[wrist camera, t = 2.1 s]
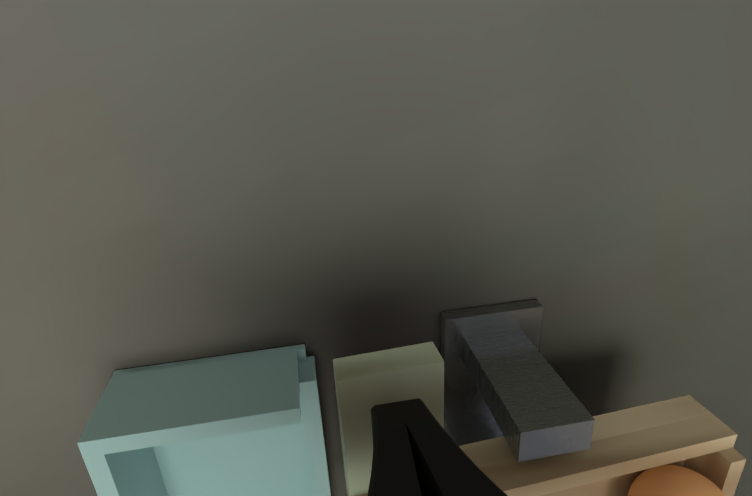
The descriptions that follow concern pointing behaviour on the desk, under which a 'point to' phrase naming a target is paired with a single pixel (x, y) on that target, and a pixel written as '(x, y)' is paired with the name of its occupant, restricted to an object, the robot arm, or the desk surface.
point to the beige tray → (543, 475)
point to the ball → (672, 483)
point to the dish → (211, 428)
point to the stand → (507, 383)
